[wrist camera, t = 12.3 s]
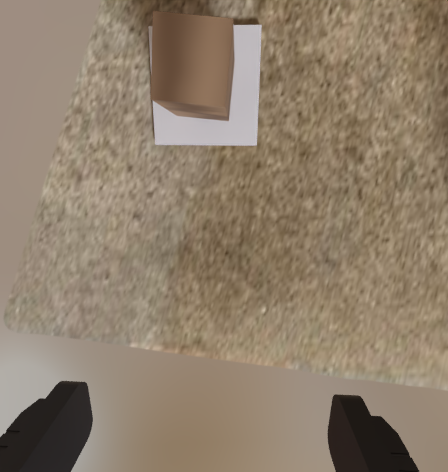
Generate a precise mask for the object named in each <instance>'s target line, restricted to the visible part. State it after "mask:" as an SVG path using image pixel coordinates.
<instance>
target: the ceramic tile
mask: <svg viewBox="0 0 448 472" xmlns="http://www.w3.org/2000/svg"><path fill="white" fill-rule="evenodd" d="M261 27H262V25H233V29H234V57H235V64H234V74H233V84H232V94H231V104H230V115H229V121H221V120H211V119H201V118H192V117H182V116H176V115H175V114H173V113H172V112H170V111H168V110H167V109H165V108H164V107H162V106H161V105H159V104H157V103H156V102H154V101H153V116H154V133H155V145H227V146H257V127H258V102H259V77H260V52H261ZM148 29H149V46H150V64H151V65H152V26H148Z"/></svg>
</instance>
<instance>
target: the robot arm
mask: <svg viewBox="0 0 448 472" xmlns="http://www.w3.org/2000/svg"><path fill="white" fill-rule="evenodd" d="M92 422H93V417H92V410H91V404H90V397H89V392H88V386H87V383H85V382H73V381H71V382H70V381H61V382H59V383H58V384H57V385H56V386H55V387H54V389H53V390H52V391H51V392H50V394H49V395H48V396H47V397H46V399H38V400H37V401H36V402H35V403H33V404H32V405H31V406H30V407H28V408H27V409H25V410H24V411H23V412H21V414H20V415H19V416H18V417H17V418H16V419H15V421H14V422H13V423H12V424H11V426H10V427H9V428H8V429H7V430H6V433H5V434H3V435H2V436H1V437H0V472H71V470H72V468H73V466H74V464H75V463H76V461H77V459H78V457H79V455H80V453H81V451H82V449H83V447H84V446H85V444H86V442H87V439H88V437H89V435H90V432H91V427H92ZM328 444H329V450H330V454H331V457H332V461H333V464H334V467H335V470H336V472H419V470H418V468H417V467H416V465H415V463H414V461H413V459H412V458H410V456H409V452H408V451H407V449H406V447H405V445H404V444H403V442H402V440H401V439H400V437H399V435H398V433H397V432H396V431H395V430H394V429H393V428H392V427H391V426H390V425H389V424H388V423H387V422H386V421H385V420H384V419H383V418H382V417H380V416H371V415H370V413H369V411H368V409H367V407H366V405H365V403H364V401H363V399H362V398H361V397H360V396H355V395H334V396H333V399H332V406H331V412H330V419H329V426H328Z"/></svg>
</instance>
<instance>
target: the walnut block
mask: <svg viewBox="0 0 448 472" xmlns="http://www.w3.org/2000/svg"><path fill="white" fill-rule="evenodd" d="M234 64H235V57H234V29H233V18H223V17H212V16H202V15H192V14H181V13H171V12H161V11H153V22H152V65H151V100H153V101H154V102H156V103H157V104H159V105H161V106H162V107H164V108H165V109H167V110H168V111H170V112H172V113H173V114H175V115H176V116H182V117H192V118H201V119H211V120H221V121H229V115H230V104H231V94H232V84H233V74H234Z"/></svg>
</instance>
